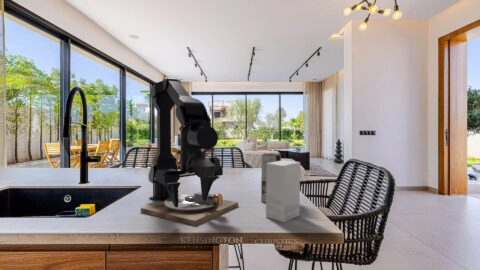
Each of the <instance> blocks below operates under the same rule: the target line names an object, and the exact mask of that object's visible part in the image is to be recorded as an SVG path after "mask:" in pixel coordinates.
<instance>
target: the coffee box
mask: <svg viewBox="0 0 480 270" xmlns="http://www.w3.org/2000/svg"><path fill="white" fill-rule="evenodd" d="M277 161H282V153H279V152H278V153H276V152H275V153H273V152H272V153H271V152H270V153H266V152H265V153H263V154H262V155H261V178H260V179H261V180H260V181H261V182H260V183H261V184H260V185H261V187H260V190H261V191H260V192H261V194H260V196H261V197H260V201H261V202H262V203H266V163H271V162H277Z"/></svg>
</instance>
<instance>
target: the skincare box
mask: <svg viewBox="0 0 480 270" xmlns="http://www.w3.org/2000/svg"><path fill="white" fill-rule="evenodd" d="M300 189H301V162H300V161H293V160H282V159H281V161H277V162H271V163H266V202H265V218H267V219H271V220H274V221H277V222H280V223H285V222H288V221H290V220H293V219H294V218H297V217H299V216H300V207H301V206H300V204H301V203H300V197H301V196H300V191H301V190H300Z"/></svg>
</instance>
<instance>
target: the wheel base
mask: <svg viewBox="0 0 480 270" xmlns="http://www.w3.org/2000/svg"><path fill="white" fill-rule="evenodd" d="M237 207H239V201H232V200H228V199H223V204H222V205H221V206H215V207H213V208H210V209H206V210H201V211H190V212H184V211H174V210H170V209H167V208H166V207H165V201H158V202H156V203H153V204H150V205H146V206H143V207H140V213H144V214H146V215H150V216H151V215H152V216H155V217H159V218H164V219H167V220H170V221H171V220H172V221H175V222H180V223H183V224H188V225H191V226H197V225H200V224H202V223H205V222H206V221H208V220H210V219H213V218H214V217H217V216H219V215H221V214H223V213H226V212H228V211H230V210H233V209H234V208H237Z"/></svg>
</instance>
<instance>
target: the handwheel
mask: <svg viewBox="0 0 480 270" xmlns="http://www.w3.org/2000/svg"><path fill="white" fill-rule="evenodd" d="M223 200H224V199H223V194H222V193H214V194H211V193H209V194H208V197H207V200H206V201H203V199H202V192H195V193H185V194H178V207H177V208H176V207H175V206H174V204H173V202H172V200H171V198H170V197H169V198H167V199H166V200H165V207H166V208H167V209H170V210H174V211H184V212H190V211H201V210H206V209H210V208H213V207H215V206H221V205H222V204H223Z"/></svg>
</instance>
